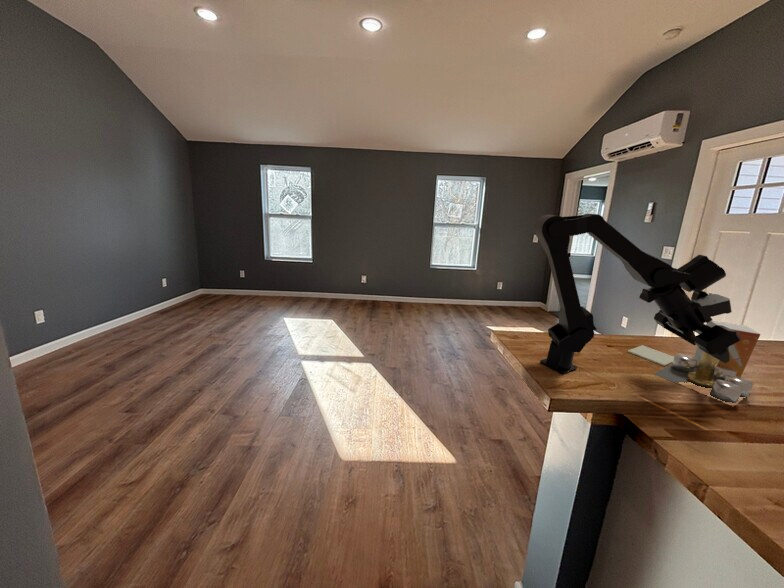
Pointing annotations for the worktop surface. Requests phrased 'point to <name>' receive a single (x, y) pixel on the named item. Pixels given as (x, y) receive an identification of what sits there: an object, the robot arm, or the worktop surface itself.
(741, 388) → the spacers
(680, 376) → the mat
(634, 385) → the worktop surface
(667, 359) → the coaster
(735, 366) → the small box
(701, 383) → the brass pin
